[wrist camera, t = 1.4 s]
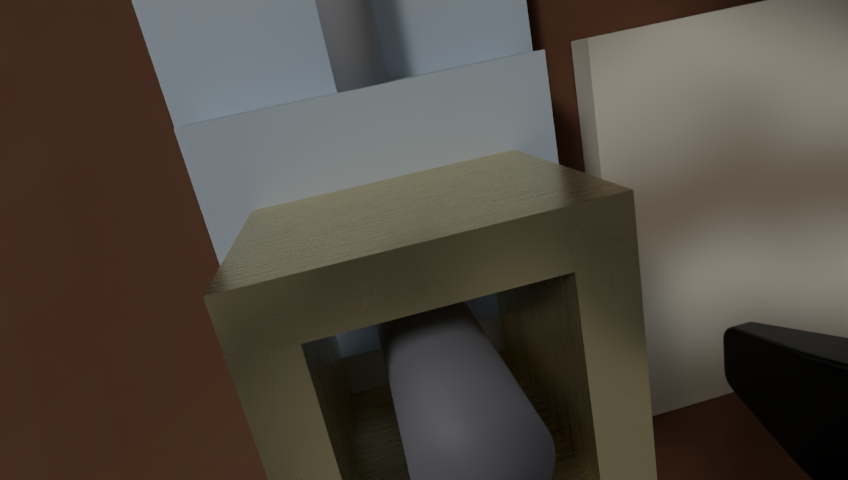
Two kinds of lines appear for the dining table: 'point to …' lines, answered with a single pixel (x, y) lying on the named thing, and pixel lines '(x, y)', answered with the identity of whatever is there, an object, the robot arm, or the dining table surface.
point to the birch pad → (726, 175)
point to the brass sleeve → (433, 288)
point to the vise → (370, 173)
